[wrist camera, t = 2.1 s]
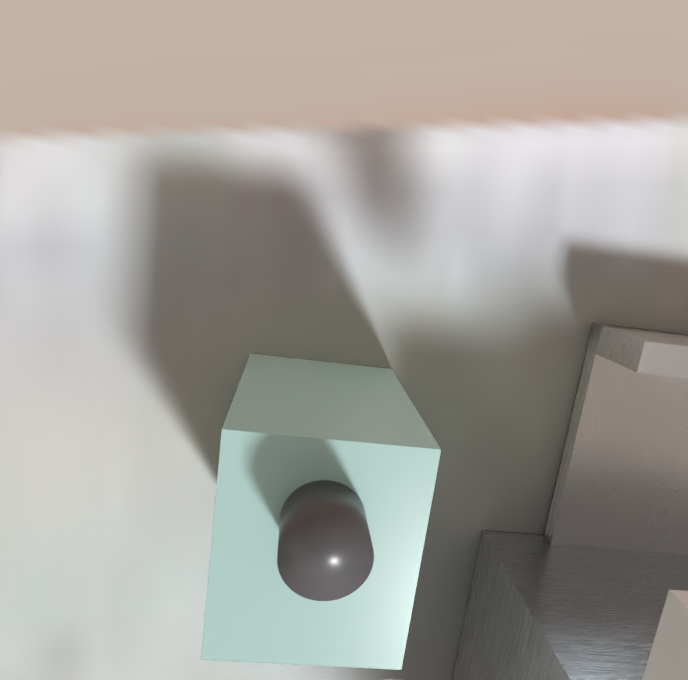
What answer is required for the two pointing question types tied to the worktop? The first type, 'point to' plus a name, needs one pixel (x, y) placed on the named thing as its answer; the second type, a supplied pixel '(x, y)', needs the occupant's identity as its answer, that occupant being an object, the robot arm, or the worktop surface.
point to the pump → (318, 517)
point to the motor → (594, 529)
